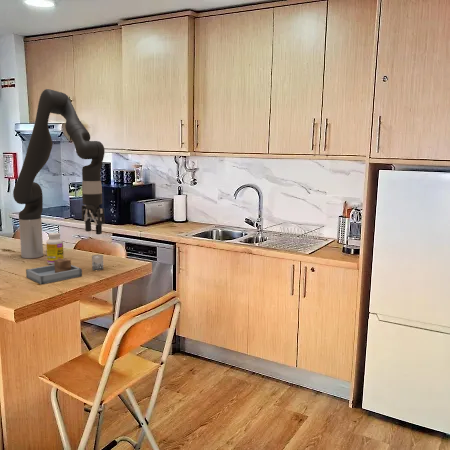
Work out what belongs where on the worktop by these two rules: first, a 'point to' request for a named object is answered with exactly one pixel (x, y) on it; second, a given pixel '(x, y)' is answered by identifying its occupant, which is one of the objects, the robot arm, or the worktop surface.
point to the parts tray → (52, 274)
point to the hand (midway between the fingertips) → (93, 232)
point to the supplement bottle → (54, 248)
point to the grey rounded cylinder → (97, 262)
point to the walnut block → (62, 265)
